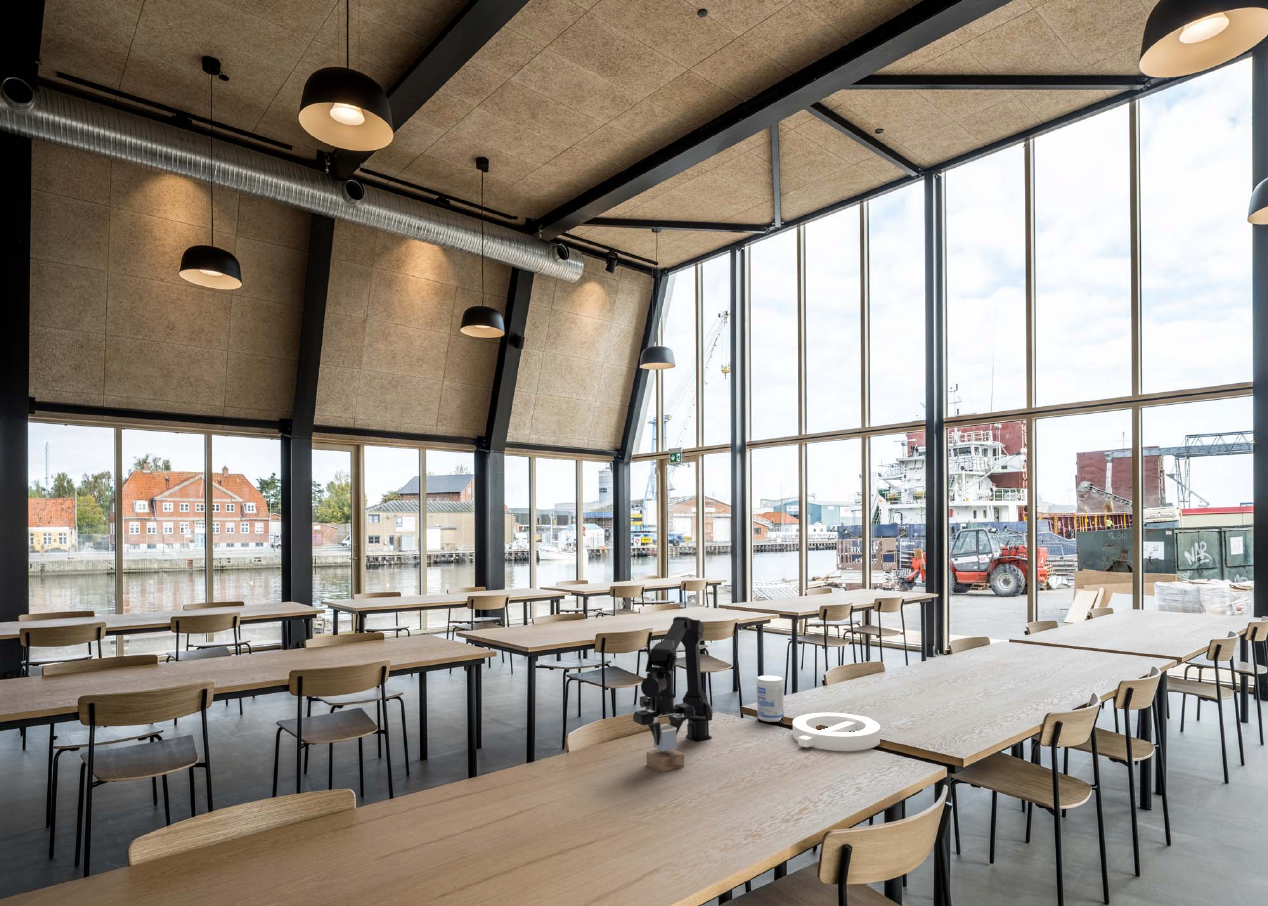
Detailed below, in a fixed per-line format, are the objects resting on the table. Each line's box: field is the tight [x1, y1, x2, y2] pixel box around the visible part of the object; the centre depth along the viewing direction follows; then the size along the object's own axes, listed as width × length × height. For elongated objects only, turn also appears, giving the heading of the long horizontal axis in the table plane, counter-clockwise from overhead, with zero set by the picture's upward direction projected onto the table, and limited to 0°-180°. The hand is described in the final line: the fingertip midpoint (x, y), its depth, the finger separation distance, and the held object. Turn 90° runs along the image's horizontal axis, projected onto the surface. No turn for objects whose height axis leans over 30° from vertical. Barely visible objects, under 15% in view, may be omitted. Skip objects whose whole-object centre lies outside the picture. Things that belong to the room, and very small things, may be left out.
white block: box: [653, 723, 678, 751], centre depth 212 cm, size 5×5×6 cm
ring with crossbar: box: [792, 712, 881, 752], centre depth 235 cm, size 28×28×5 cm
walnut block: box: [646, 748, 685, 773], centre depth 211 cm, size 8×8×4 cm
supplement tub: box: [756, 674, 785, 723], centre depth 259 cm, size 10×10×15 cm
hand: (664, 743), depth 212 cm, fingers closed on white block, 5 cm apart
